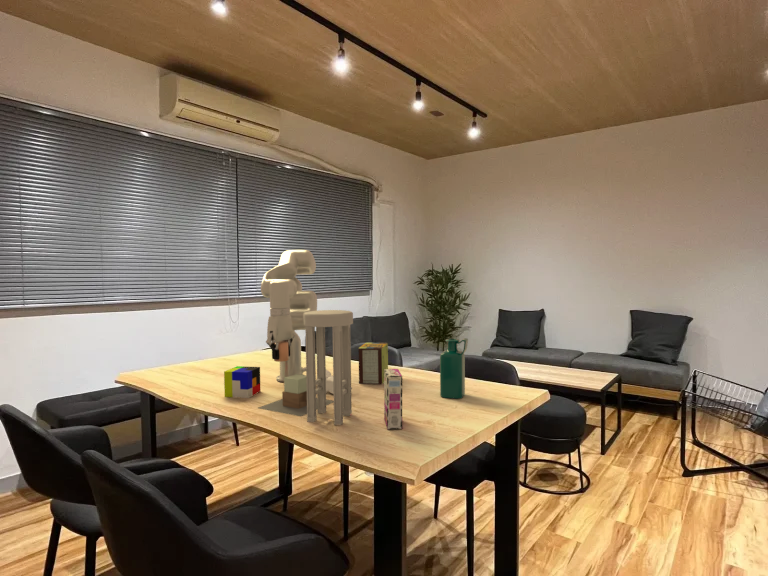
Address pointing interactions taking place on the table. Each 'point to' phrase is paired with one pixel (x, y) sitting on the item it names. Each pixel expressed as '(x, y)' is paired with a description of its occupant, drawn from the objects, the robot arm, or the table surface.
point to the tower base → (294, 399)
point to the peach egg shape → (283, 351)
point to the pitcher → (453, 370)
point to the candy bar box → (393, 398)
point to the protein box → (372, 362)
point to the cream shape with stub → (329, 382)
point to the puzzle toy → (242, 381)
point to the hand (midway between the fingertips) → (281, 357)
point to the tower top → (295, 384)
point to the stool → (341, 363)
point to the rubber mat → (289, 408)
